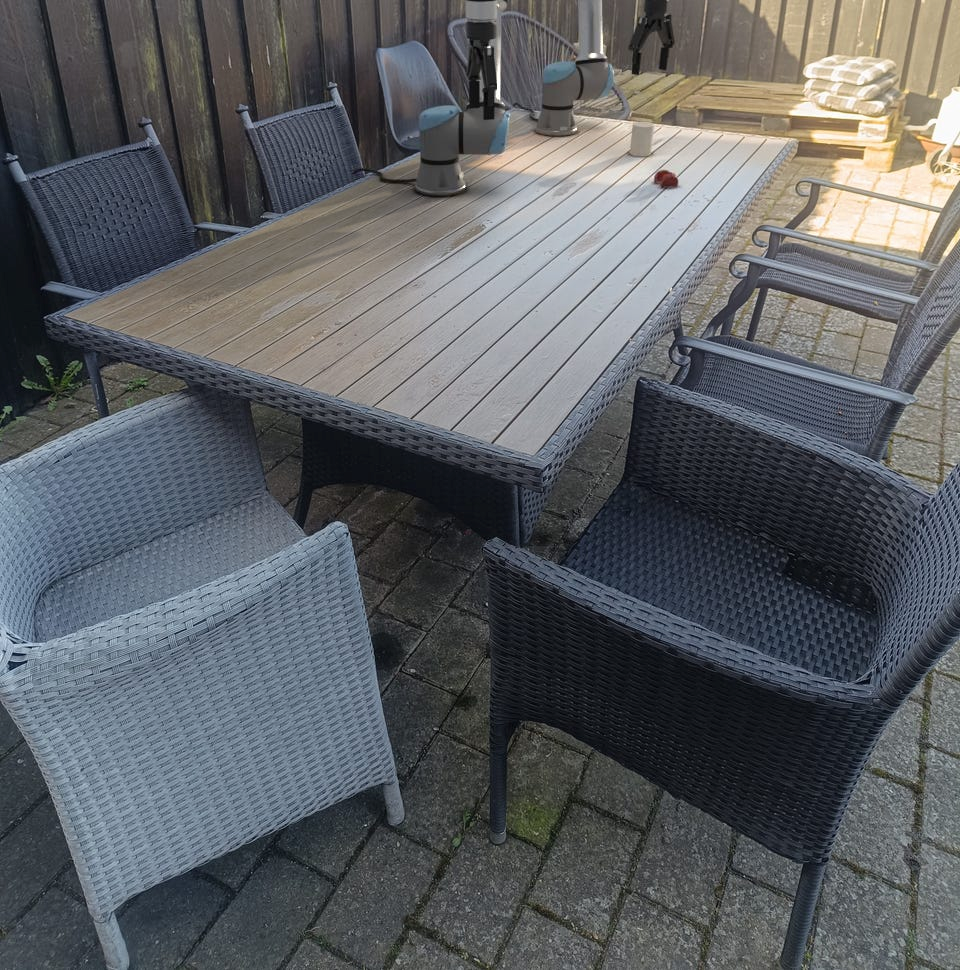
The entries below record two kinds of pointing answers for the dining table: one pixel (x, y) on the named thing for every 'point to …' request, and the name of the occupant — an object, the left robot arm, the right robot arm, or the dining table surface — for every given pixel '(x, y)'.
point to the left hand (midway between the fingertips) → (481, 113)
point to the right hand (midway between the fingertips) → (649, 72)
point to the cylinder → (641, 139)
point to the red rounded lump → (666, 178)
